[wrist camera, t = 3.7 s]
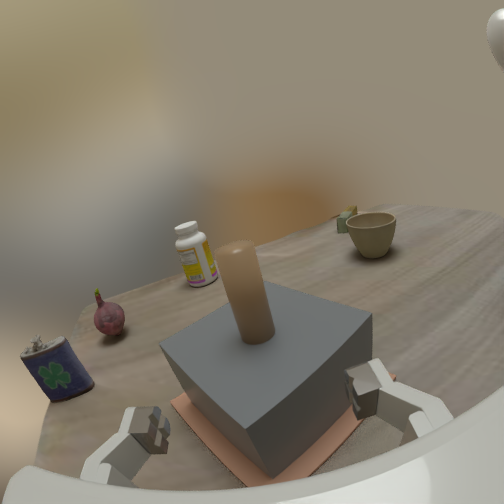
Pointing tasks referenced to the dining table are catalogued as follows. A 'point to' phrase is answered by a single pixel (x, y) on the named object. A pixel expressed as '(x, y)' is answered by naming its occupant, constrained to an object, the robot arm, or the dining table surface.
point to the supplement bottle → (195, 255)
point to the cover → (269, 362)
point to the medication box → (345, 218)
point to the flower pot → (372, 232)
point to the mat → (246, 467)
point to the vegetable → (108, 317)
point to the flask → (56, 369)
